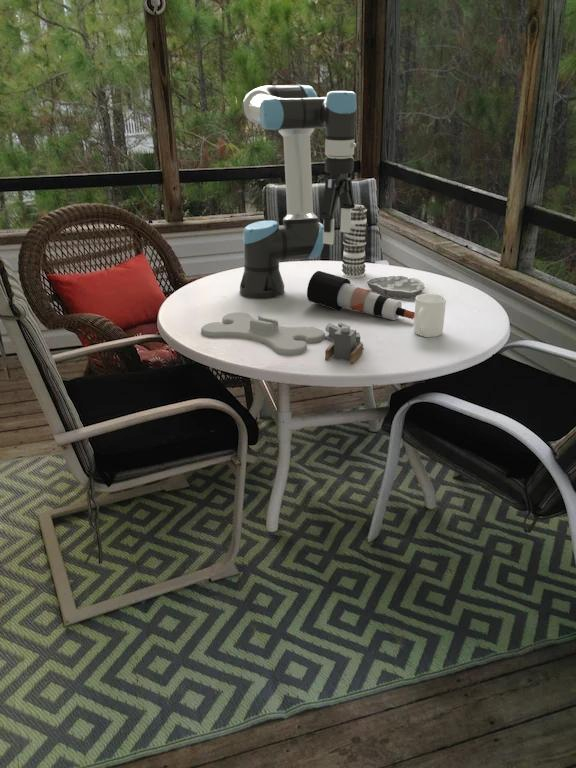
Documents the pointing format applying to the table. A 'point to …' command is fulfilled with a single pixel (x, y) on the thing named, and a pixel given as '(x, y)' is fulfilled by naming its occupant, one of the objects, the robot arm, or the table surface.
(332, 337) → the clip
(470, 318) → the table surface
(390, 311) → the cable
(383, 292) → the brain slice
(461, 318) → the table surface
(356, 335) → the clip
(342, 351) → the block
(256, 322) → the holder
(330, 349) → the end holder
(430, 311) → the mug
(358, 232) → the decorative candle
